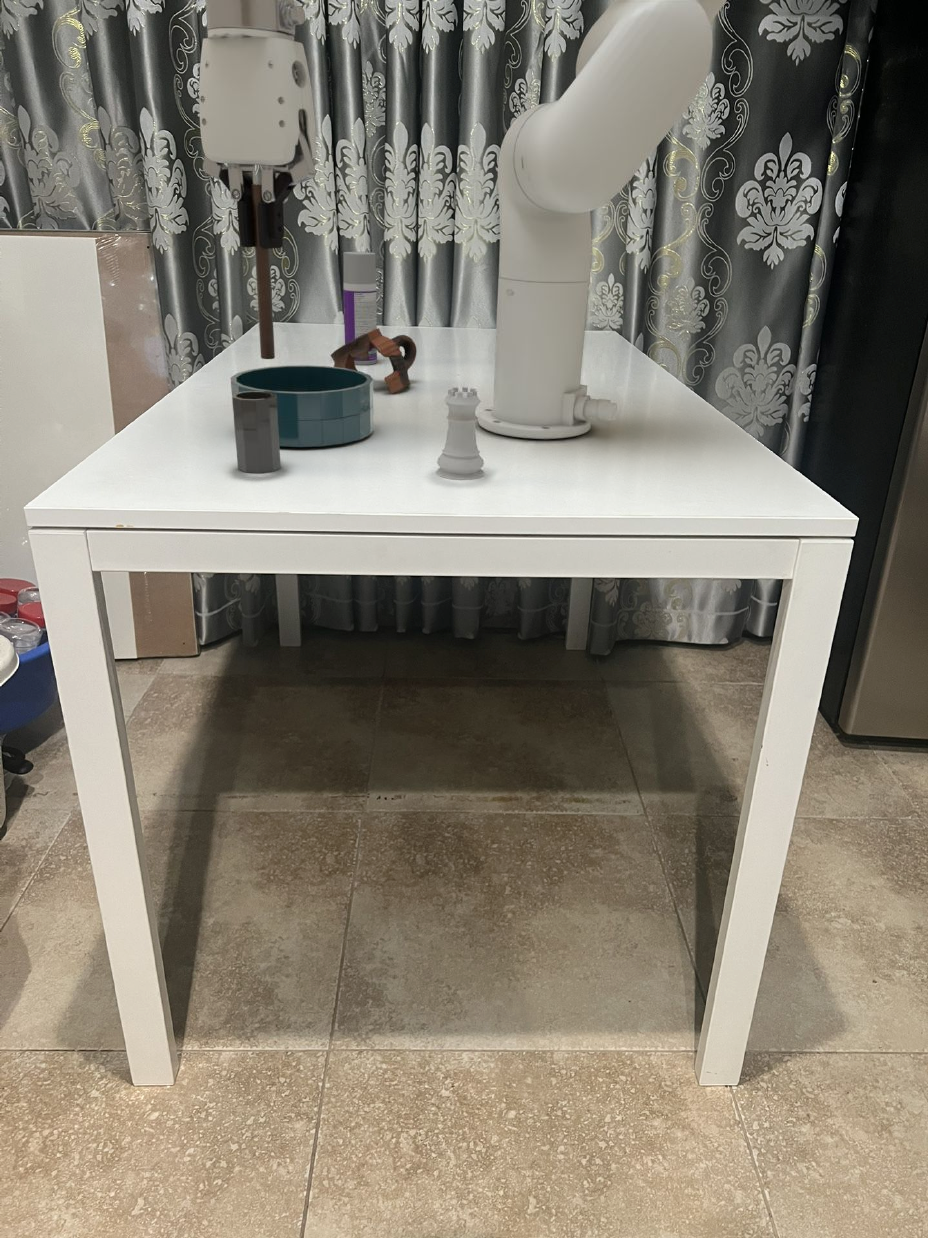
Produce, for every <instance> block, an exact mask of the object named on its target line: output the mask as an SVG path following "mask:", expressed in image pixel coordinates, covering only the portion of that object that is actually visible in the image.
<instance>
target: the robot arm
mask: <svg viewBox="0 0 928 1238" xmlns="http://www.w3.org/2000/svg"><path fill="white" fill-rule="evenodd" d="M204 2H205V14H206V15H205V16H206V28H207V29H206V30H207V38H206V37H205V38H202V46H201V52H200V63H199V83H198V84H199V85H198V87H199V88H198V89H199V91H198V94H199V95H198V96H199V97H198V98H199V99H198V101H199V103H198V104H199V105H198V106H199V128H200V129H199V130H200V138H201V147H202V150H203V153H204V157H203V161H202V171H203V172H204V173H205V174H207V175H208V176H211V177H213V179H217V180H218V181H220V182H221V183H222V184H223V185H224V186H225V188H226V189H227V190H228V192H229V194H230V198H231V199H232V200H233V202H236V207H237V208H236V209H237V224H238V225H237V226H238V234H239V236H240V237H239V238H240V246H241V247H242V248H255V242H254V224H253V206H252V188H251V185H252V184H257V175H256V174H257V173H256V166H261V167H260V168H261V169H260V170H261V171H260V172H261V185H262V199H263V203H258V205H257V214H258V232H259V246H260V247H261V248H262V249H270V250H271V249H281V248H283V246H284V237H285V222H284V221H285V220H284V218H285V217H284V204H285V203H287V202H288V200H289V195H290V194H291V193H292V192H293V191H294V189H295V188H296V186H297V185H299V184H303V183H304V182H307V181H310V180H312V179H314V178H315V177H316V176H317V175H316V174H317V173H316V167H315V163H314V162H315V161H316V158H317V129H316V117H315V108H314V98H313V89H312V83H311V77H310V71H309V65H308V61H307V56H306V51H305V48H304V44H303V43H302V42H300V41H295V36H296V26H297V25H304V23H305V21H306V13H305V10H304V7H303V6H301V5H296V4H295V0H205V1H204ZM726 2H727V0H612V2H611V4H610V5H608V7H607V8H606V10H605V11H604V12H603V13H602V14H601V16H600V17H599V18H597V20H596V21H595V22H594V24H592V26H591V28H590V29H589V31H588V32H587V34H586V35H585V37H584V39H583V41H582V44H581V46H580V48H579V49H578V54H577V58H576V63H575V78H574V79H573V81H572V83H571V84H570V85H569V87H568V88H567V89H566V90H565V91H564V93H563V94H562V96H561V97H560V98H559V99H558V100H553V101H549V102H545V103H540V104H538V105H535V106H532V107H530V108H529V109H527V110H525V111H524V112H523V113H521V114H520V115H519V116H518V117H517V118H516V119H515V120H514V121H513V123H512V124H511V125H510V126H509V128H508V130H507V131H506V134H505V135H504V137H503V140H502V141H501V142H502V143H501V147H500V150H499V154H498V162H497V192H498V193H497V195H498V207H499V208H498V209H499V210H498V211H499V254H498V255H499V257H498V258H499V259H498V260H499V261H498V279H497V280H498V281H497V302H496V303H497V306H496V325H495V351H494V372H493V390H492V391H493V394H492V406H488V407H485V408H483V409H481V410H480V411H479V412H478V416H477V418H478V419H477V423H478V425H479V426H480V427H481V428H483V429H484V430H486V431H489V432H491V433H495V434H499V435H502V436H506V437H514V438H521V439H522V438H523V439H534V440H535V439H536V440H540V439H541V440H553V439H564V438H565V439H566V438H571V437H577V436H580V435H584V434H586V433H587V432H589V431H590V430H591V425H592V419H597V420H600V421H609V422H614V421H615V420H616V416H617V411H618V405H617V402H612V399H604V398H591V395H588V385H587V384H581V381H582V380H581V379H582V368H583V356H584V344H585V334H586V333H585V331H586V322H587V321H586V320H587V310H588V309H587V308H588V295H589V285H590V277H591V276H590V275H591V265H592V244H593V243H592V242H593V241H592V221H591V219H592V218H591V212H592V211H595V210H597V209H599V208H601V207H603V206H604V205H606V204H607V203H608V202H610V201H611V200H613V198H614V197H616V196H617V195H618V194H619V193H620V192H621V191H622V190H623V189H624V188H625V187H626V185H627V184H628V183H629V182H630V181H631V179H633V177H634V176H635V175H636V173H637V172H638V171H639V169H640V168H641V167H642V166H643V165H644V164H645V162H646V161H647V160H648V159H649V157H650V156H651V155H652V153H653V152H654V151H655V150H656V149H657V147H658V146H659V144H661V142H662V141H663V140H664V139H665V137H666V136H667V135H668V133H669V132H670V131H671V130H672V128H674V126H675V125H676V123H677V122H678V121H679V120H680V119H681V118H682V116H683V115H684V113H685V112H686V111H687V109H689V107H690V105H691V104H692V103H693V101H694V99H695V98H696V97H697V95H698V94H699V92H700V90H701V88H702V86H703V84H704V82H705V79H706V78H707V75H708V72H709V70H710V69H709V68H710V65H711V61H712V56H713V43H714V42H713V32H712V27H711V24H712V22H713V20H714V19H715V18H716V16H717V15H718V14H719V12H720V11H721V10H722V8H723V6H724V5H725V4H726ZM226 164H227V165H226ZM289 167H290V169H289Z"/></svg>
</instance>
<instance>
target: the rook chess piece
mask: <svg viewBox="0 0 928 1238" xmlns="http://www.w3.org/2000/svg"><path fill="white" fill-rule="evenodd" d="M443 401H444V403H445V405H446V406H447V408H448V414H447V415H446V419H447V422H448V423H447V425H448V426H447V434H446V440H445V445H444V448H443V449H442V450H441V454H440V455H439V457H438V458H437V460H436V464H437V465H438V466H439V467H438V469H437V470H436V471H435V473H436V474H437V476H439V477H441V478H444V479H448V480H455V481H457V480H458V481H471V480H476V479H479V478H482V477H484V475H485V471H483V469H482V468H483V467H484V465H485V460H484V459H483V457H482V456H481V454H480V453H481V451H480V450H479V448H478V444H477V435H476V421H478V416H477V415H476V410H477V408H478V407H479V405H480V403H481V402H482V401H481V399H480V397H479V396H478V390H477V389H476V388H474V387H470V390H469V386H462V390H461V391H459V386H454V387H452V388H451V387H449V388H448V393H447V396H446V397H445V398H444V400H443Z"/></svg>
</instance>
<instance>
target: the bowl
mask: <svg viewBox="0 0 928 1238" xmlns="http://www.w3.org/2000/svg"><path fill="white" fill-rule="evenodd" d="M230 389H231V395H232V394H235V393H238V392H244V391H267V392H271V393H275V394H276V397H277V413H278V430H279V447H290V448H313V447H315V448H316V447H328V446H336V445H344V444H348V443H351V442H355V441H359V440H362V439H364V438H367V437H368V436H371V434H372V433H373V431H374V430H375V417H374V416H375V413H374V412H375V411H374V410H375V409H374V408H375V406H374V378H373V377H372V375H371V374H369V373H365V372H363V371H360V370H358V371H356V370H352V369H347V368H339V367H334V366H330V365H308V364H306V365H305V364H303V365H299V364H298V365H277V366H265V367H258V368H252V369H247V370H244V371H240V372H237V373H235V374H234V375H232V376H231V377H230ZM231 402H232V401H231ZM232 404H233V402H232ZM232 414H233V413H232ZM233 416H234V414H233ZM233 426H234V425H233ZM234 429H235V426H234Z"/></svg>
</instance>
